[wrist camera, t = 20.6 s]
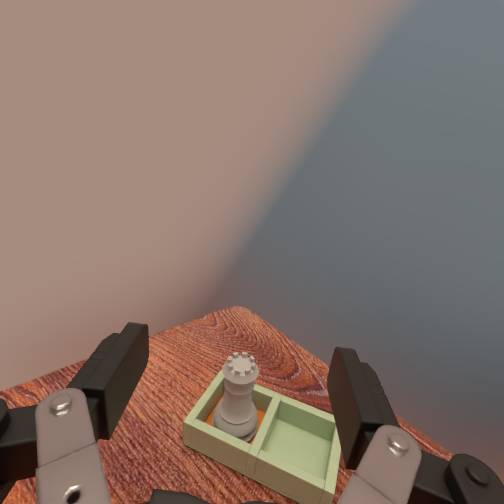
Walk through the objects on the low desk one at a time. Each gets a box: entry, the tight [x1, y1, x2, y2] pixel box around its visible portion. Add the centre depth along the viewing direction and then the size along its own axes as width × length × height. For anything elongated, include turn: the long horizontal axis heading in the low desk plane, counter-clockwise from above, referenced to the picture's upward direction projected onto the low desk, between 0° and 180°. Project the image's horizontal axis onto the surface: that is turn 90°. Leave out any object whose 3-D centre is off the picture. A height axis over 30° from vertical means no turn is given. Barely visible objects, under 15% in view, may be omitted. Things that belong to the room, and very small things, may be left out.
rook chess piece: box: [212, 352, 259, 442], centre depth 28 cm, size 4×4×8 cm
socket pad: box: [183, 370, 341, 504], centre depth 29 cm, size 13×7×3 cm, turn 67°
